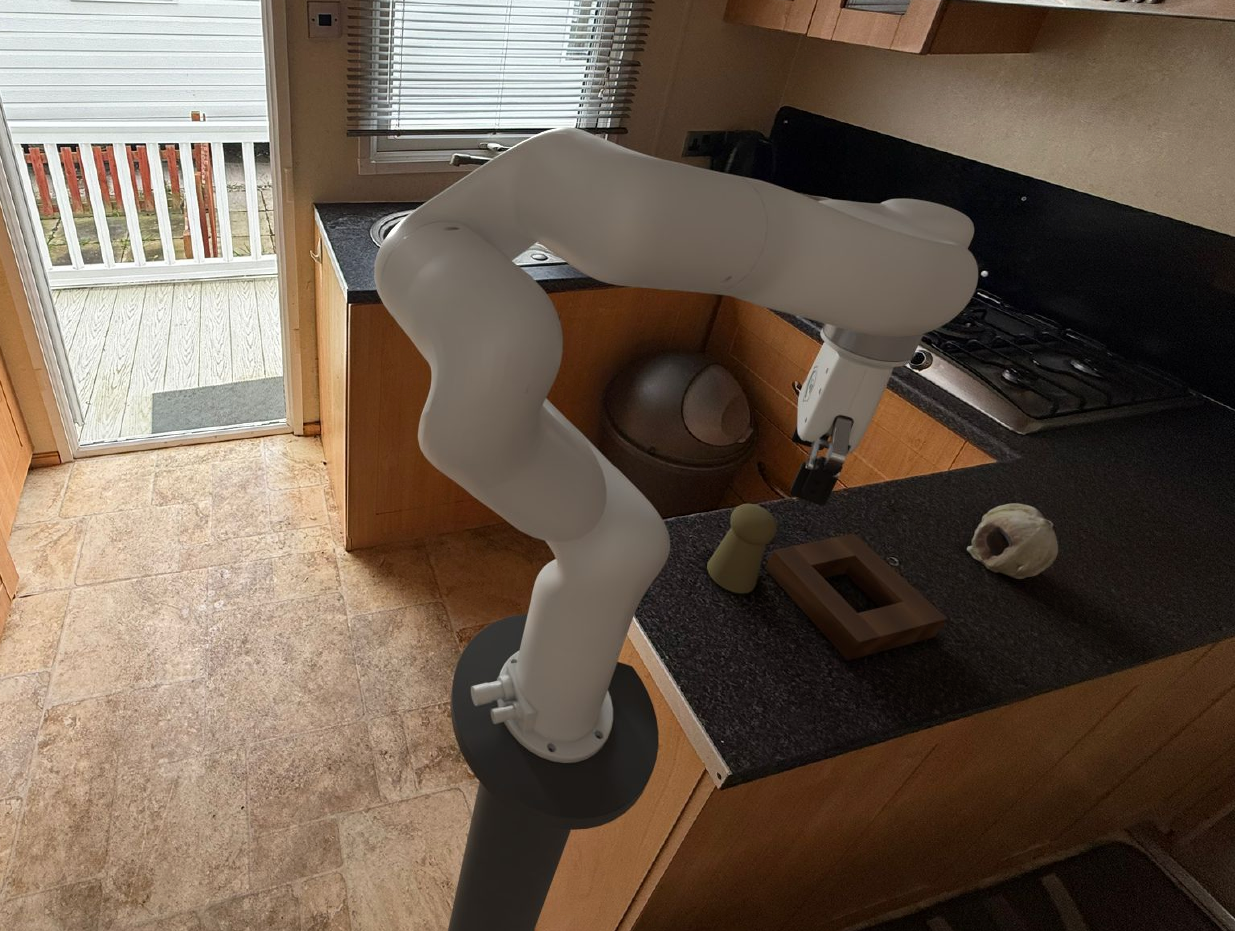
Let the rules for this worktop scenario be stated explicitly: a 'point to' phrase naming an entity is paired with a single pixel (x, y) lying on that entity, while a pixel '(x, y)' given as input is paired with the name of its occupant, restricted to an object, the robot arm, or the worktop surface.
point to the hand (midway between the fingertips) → (806, 470)
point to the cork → (742, 549)
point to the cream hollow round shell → (1015, 541)
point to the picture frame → (846, 629)
